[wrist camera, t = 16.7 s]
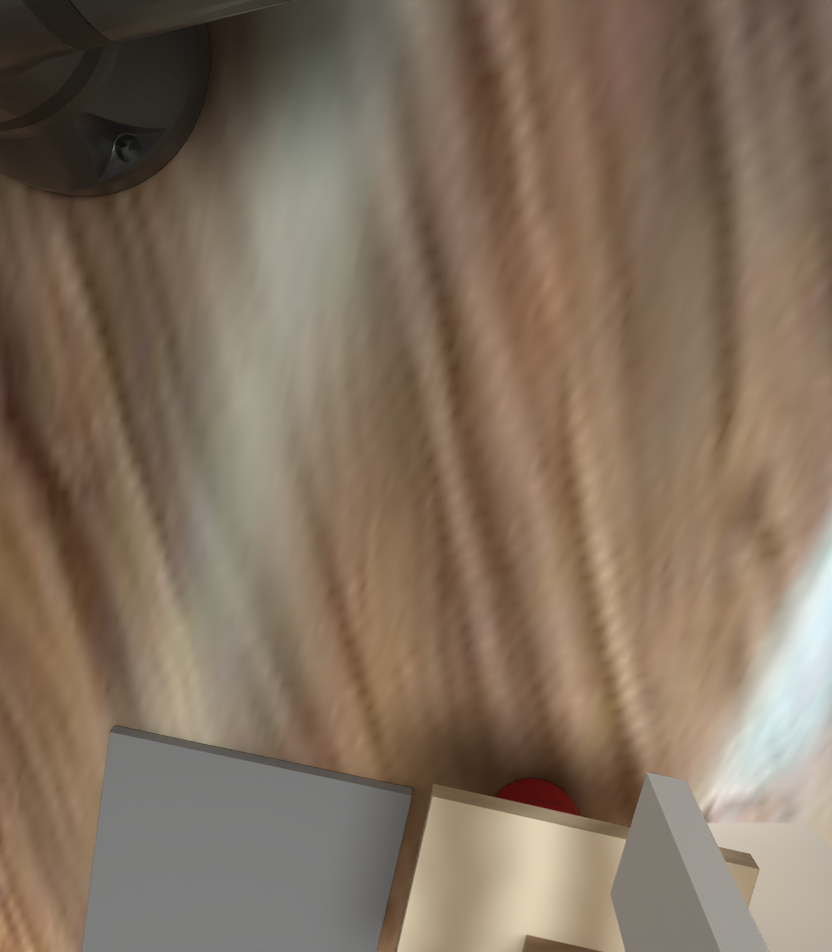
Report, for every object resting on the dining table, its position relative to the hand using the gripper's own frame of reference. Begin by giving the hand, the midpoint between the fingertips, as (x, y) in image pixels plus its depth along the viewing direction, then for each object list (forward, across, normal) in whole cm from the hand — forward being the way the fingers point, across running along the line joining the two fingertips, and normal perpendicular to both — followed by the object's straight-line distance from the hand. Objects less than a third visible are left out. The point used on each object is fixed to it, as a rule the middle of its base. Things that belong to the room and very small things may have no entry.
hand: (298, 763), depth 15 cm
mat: (+33, -5, -32) cm, 46 cm away
